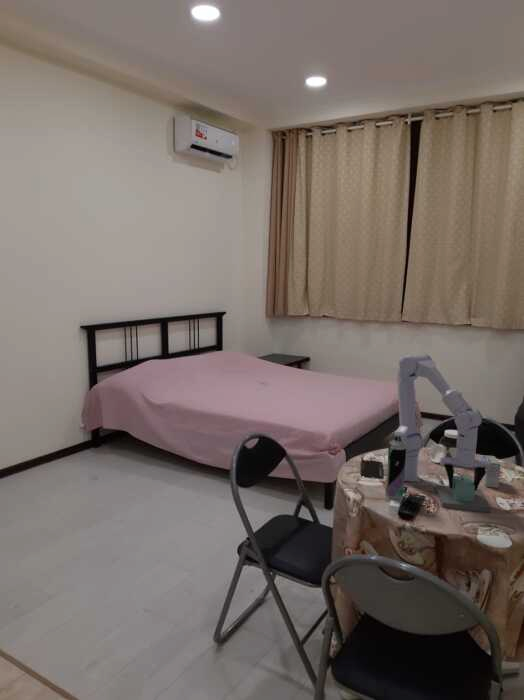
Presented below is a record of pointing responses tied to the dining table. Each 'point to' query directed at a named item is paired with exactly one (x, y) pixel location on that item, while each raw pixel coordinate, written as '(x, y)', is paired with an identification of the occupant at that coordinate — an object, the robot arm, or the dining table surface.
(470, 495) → the keyed cap
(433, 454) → the spread jar
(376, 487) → the dining table surface
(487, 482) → the medicine box
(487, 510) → the key board
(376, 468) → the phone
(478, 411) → the robot arm
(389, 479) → the spray can
